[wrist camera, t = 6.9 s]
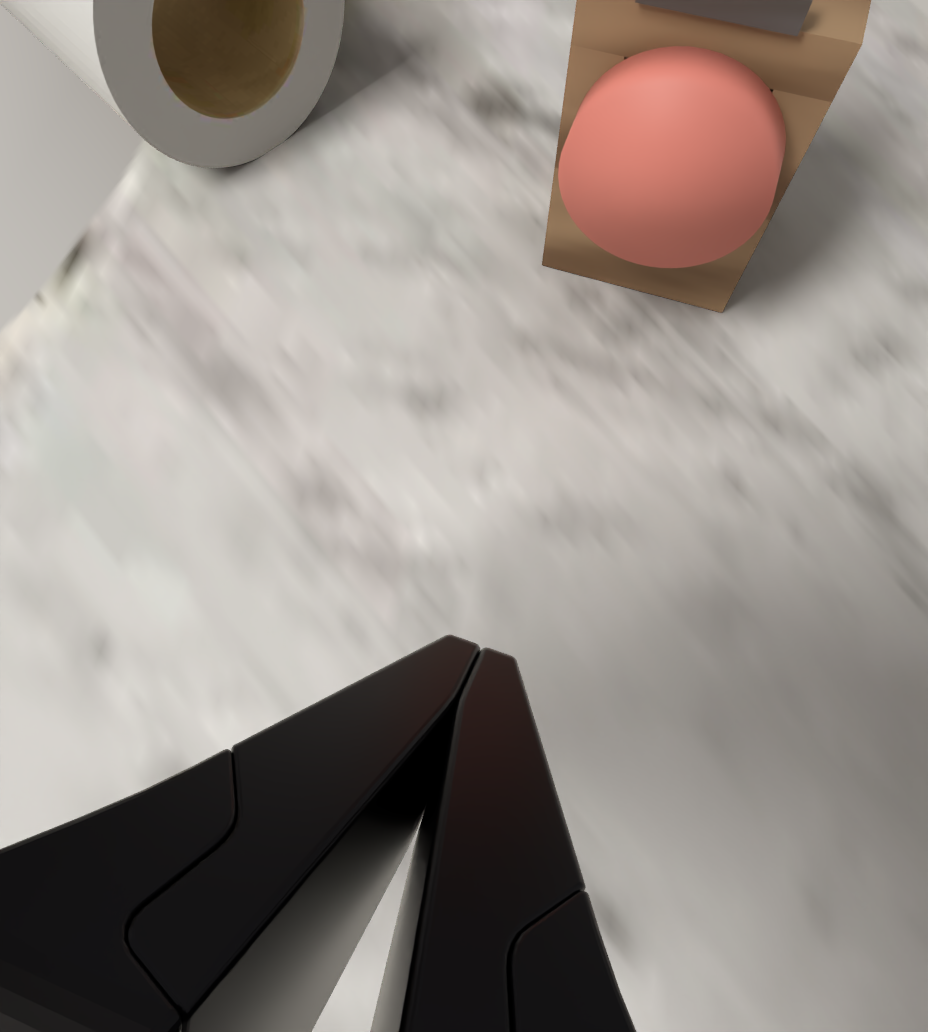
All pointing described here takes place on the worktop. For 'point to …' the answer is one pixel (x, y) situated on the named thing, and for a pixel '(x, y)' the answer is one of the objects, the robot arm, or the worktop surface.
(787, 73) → the catch block
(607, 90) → the knob
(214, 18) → the toilet paper
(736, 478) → the worktop surface
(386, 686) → the robot arm
